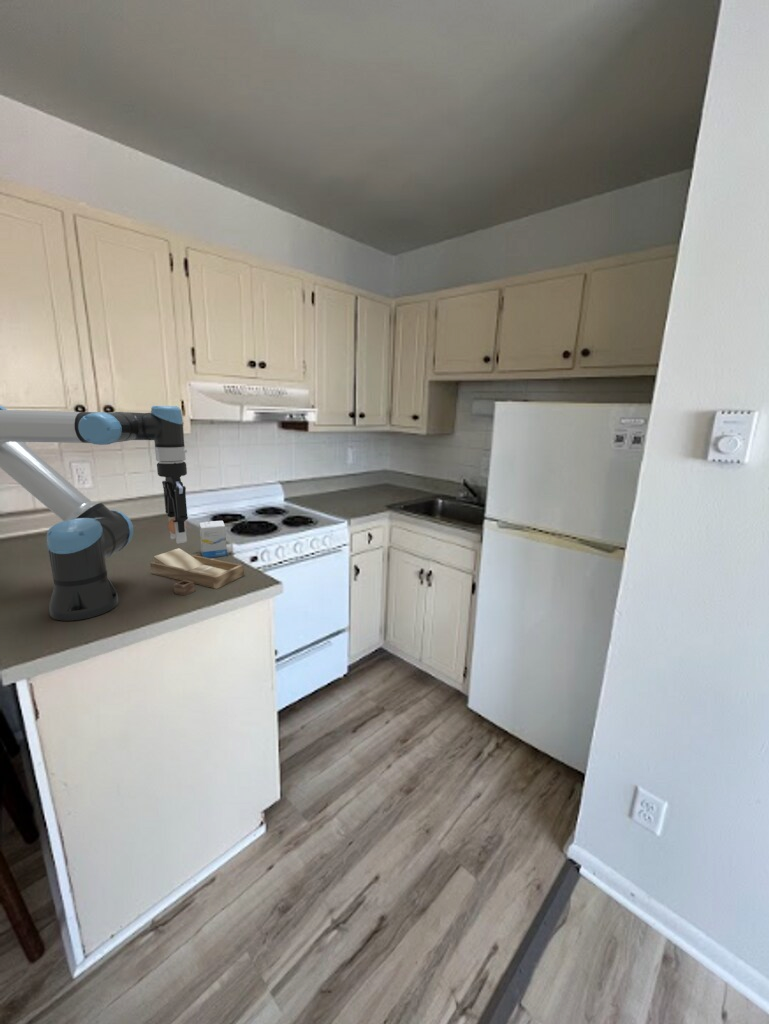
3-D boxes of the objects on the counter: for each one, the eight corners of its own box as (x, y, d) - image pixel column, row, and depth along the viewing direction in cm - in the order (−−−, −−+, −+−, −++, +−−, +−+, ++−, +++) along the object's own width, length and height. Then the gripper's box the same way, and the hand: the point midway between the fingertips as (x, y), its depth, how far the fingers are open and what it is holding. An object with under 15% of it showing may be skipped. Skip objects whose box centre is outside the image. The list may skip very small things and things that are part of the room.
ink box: (227, 555, 158) (225, 525, 155) (202, 558, 154) (200, 527, 151) (224, 549, 165) (222, 519, 162) (200, 551, 161) (198, 521, 159)
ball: (171, 537, 122) (170, 520, 121) (166, 533, 126) (164, 517, 125) (189, 534, 126) (188, 518, 124) (184, 530, 129) (182, 514, 128)
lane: (216, 589, 129) (215, 571, 127) (151, 573, 139) (149, 557, 138) (244, 576, 140) (243, 559, 138) (181, 562, 150) (180, 546, 149)
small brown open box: (184, 595, 123) (183, 586, 123) (174, 593, 125) (173, 584, 124) (194, 590, 127) (193, 581, 126) (185, 588, 128) (184, 579, 128)
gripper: (196, 464, 117) (202, 545, 122) (175, 458, 130) (182, 531, 135) (166, 466, 112) (174, 550, 117) (148, 459, 125) (156, 535, 130)
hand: (178, 540), depth 126 cm, fingers closed on ball, 5 cm apart
